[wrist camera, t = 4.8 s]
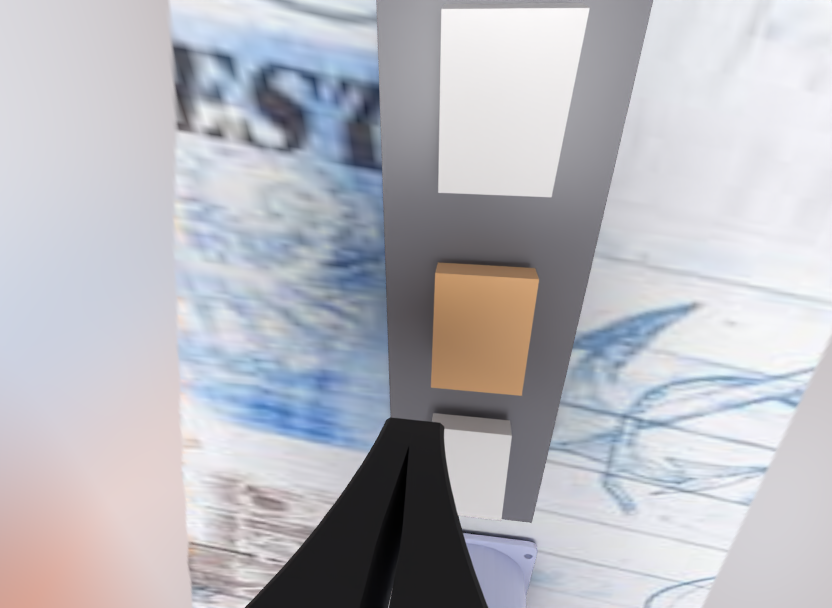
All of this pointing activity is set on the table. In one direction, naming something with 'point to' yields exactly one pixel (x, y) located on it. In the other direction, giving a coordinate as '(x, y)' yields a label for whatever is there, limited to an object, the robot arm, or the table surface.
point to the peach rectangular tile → (482, 327)
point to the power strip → (496, 221)
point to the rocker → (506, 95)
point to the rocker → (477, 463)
